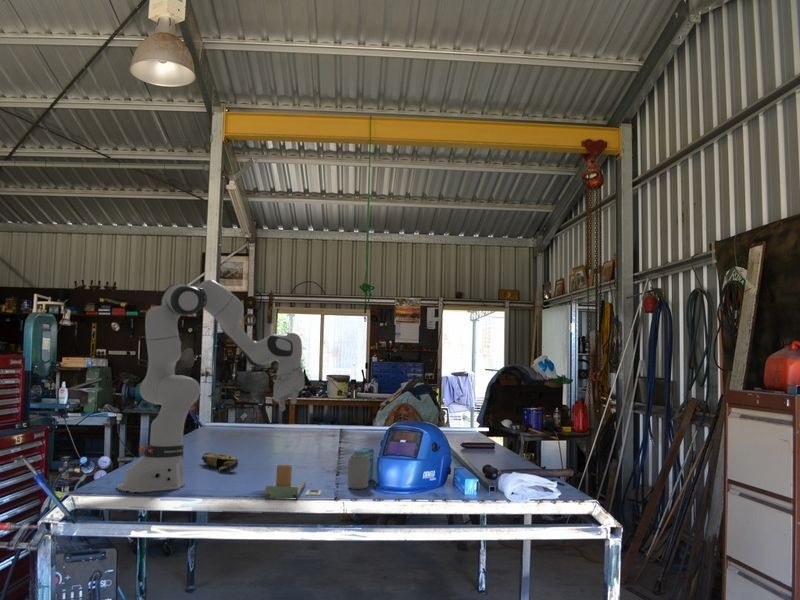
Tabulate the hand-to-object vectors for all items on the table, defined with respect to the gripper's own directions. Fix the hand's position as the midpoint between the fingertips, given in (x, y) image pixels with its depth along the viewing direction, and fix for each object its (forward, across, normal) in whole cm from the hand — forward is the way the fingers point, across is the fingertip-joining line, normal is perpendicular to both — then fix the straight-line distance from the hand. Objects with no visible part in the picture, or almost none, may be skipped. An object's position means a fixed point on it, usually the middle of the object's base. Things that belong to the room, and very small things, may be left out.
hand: (287, 407), depth 253 cm
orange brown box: (+36, -14, +7) cm, 39 cm away
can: (+31, -13, -23) cm, 41 cm away
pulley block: (+15, +46, +7) cm, 49 cm away
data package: (+26, -3, -32) cm, 41 cm away
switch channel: (+34, -10, 0) cm, 35 cm away
